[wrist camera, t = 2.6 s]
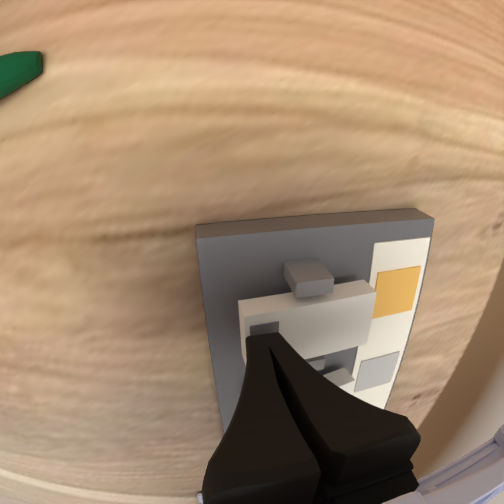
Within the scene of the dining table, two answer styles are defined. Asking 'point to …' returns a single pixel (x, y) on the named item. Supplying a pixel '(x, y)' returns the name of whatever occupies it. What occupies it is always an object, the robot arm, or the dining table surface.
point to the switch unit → (315, 286)
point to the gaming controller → (18, 70)
